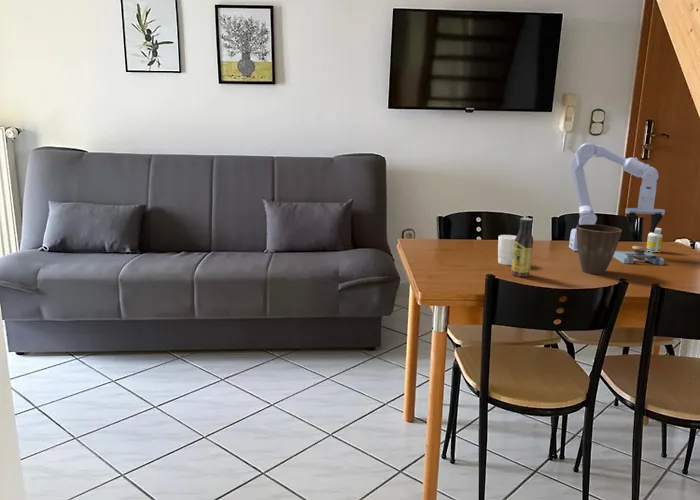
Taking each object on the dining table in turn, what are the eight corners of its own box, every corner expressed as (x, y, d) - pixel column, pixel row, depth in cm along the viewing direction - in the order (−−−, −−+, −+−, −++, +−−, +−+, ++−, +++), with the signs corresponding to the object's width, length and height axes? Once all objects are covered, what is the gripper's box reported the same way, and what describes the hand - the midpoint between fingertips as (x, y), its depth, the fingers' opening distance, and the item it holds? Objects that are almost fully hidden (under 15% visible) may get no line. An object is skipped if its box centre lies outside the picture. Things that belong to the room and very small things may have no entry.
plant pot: (579, 264, 228) (584, 222, 225) (621, 271, 219) (627, 228, 216) (565, 271, 217) (570, 227, 214) (608, 279, 208) (614, 233, 204)
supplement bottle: (657, 250, 257) (660, 227, 255) (662, 253, 252) (665, 230, 250) (643, 249, 258) (647, 227, 256) (648, 252, 253) (652, 229, 250)
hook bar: (628, 263, 232) (629, 255, 231) (626, 262, 234) (627, 254, 233) (659, 264, 232) (660, 256, 231) (657, 263, 233) (658, 255, 233)
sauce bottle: (508, 272, 213) (513, 216, 209) (525, 272, 214) (531, 216, 209) (514, 277, 207) (520, 219, 202) (532, 277, 207) (538, 220, 203)
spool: (633, 262, 235) (635, 248, 234) (628, 259, 240) (630, 245, 239) (647, 262, 234) (649, 248, 233) (642, 259, 239) (643, 246, 238)
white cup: (518, 262, 229) (521, 236, 227) (517, 266, 222) (519, 239, 220) (497, 259, 232) (499, 234, 230) (495, 264, 225) (497, 237, 222)
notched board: (623, 263, 232) (624, 258, 232) (610, 255, 245) (611, 250, 244) (663, 264, 232) (664, 259, 231) (648, 256, 244) (649, 252, 244)
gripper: (632, 198, 237) (627, 233, 240) (670, 200, 236) (665, 234, 239) (625, 196, 244) (620, 229, 247) (661, 197, 243) (657, 231, 246)
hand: (642, 231), depth 243 cm, fingers open, 7 cm apart
